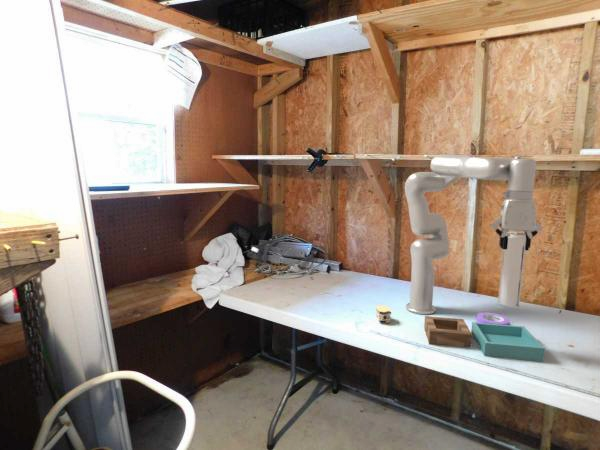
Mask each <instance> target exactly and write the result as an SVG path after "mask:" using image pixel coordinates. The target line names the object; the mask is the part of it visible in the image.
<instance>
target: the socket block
mask: <svg viewBox="0 0 600 450" xmlns="http://www.w3.org/2000/svg"><path fill="white" fill-rule="evenodd" d="M423 325H424V327H423V329H424V332H426V333H425V335H426V339H427V342H428V345H434V346H443V345H444V346H446V347H454V348H455V347H456V348H466V349H467V348H468V349H472V340H473V336H472V333H471V330H470V329H469V327H468V325H467V323H466V322H465V320H464V319H463V318H453V317H439V316H429V315H428V316H427V315H425V316H424V324H423Z"/></svg>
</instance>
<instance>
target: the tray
mask: <svg viewBox="0 0 600 450" xmlns="http://www.w3.org/2000/svg"><path fill="white" fill-rule="evenodd" d="M470 329H471V330H470V332H471V333H472V338H473V339H474V341H475V343H476V345H477V346H478V347H479V350H480V351H481V352H482V355H483V356H484V357H492V358H505V359H516V360H525V361H536V362H544V357H545V349H546V348H545V347H544V346H543V345H542V344H541V342H539V341H538V339H536V337H535V336H534V335H533V334H532V333H531V331H529V330H528V328H526V327H525V326H524V325H511V324H509V325H501V324H489V323H477V321H473V322H471V328H470Z"/></svg>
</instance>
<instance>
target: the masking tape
mask: <svg viewBox="0 0 600 450" xmlns="http://www.w3.org/2000/svg"><path fill="white" fill-rule="evenodd" d="M476 322H477V323H489V324H501V325H511V324H510V323H511V322H510V319H509V318H508V317H506V316H505V315H502V314H499V313H494V312H480V313H477V315H476Z"/></svg>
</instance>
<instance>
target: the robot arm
mask: <svg viewBox="0 0 600 450" xmlns="http://www.w3.org/2000/svg"><path fill="white" fill-rule="evenodd" d="M536 168H537V161H536V160H535V159H534V158H505V157H481V156H479V157H478V156H471V155H470V154H452V153H451V154H449V153H447V154H446V153H441V154H437V155H435V156H434V157H432V159H431V161H430V169H431V171H418V172H414V173H412V174H410V175H409V176H408V178H406V181H405V184H404V194H405V199H406V200H407V206H408V214H409V215H408V216H409V223H410V228H411V232H412V233H413V234H414V235H415V236H429V237H426V238H419V239H416V240H414V241H413V242H412V243H411V245H410V247H409V248H410V249H409V250H410V258H411V259H410V261H411V270H410V271H411V276H410V294H409V295H410V296H409V302H407V303H406V304H405V309H406V310H407V311H409V312H411V313H414V314H419V315H431V314H434V313H436V309H437V308H436V307H435V306H434V305H433V299H434V285H435V284H434V283H435V267H434V265H433V263H432V261H434V260H441V259H444V258H446V257H447V256H448V255H449V253H450V241H449V234H448V228H447V227H448V226H447V222H446V220H445V218H444V216H443V215H442V214H440V213H438V212H431V211H430V206H429V205H430V204H429V201H428V199H427V197H426V196H425V194H424V193H438V192H442V191H444V190H445V189H447V188H448V187H449V186H450V185H451V184H453V182H455V180H457V179H458V178H461V179H462V178H463V179H471V180H472V179H473V180H474V179H475V180H485V181H508V182H507V190H506V191H505V192H502V194H501V195H502V197H505V198H506V199H504V201H503V202H502V207H501V209H500V214H499V215H500V216H499V218H498V219H496V220H495V221H493V223H491V225H490V227H491V229H493V231H495V233H496V234H497V235H498V236H499V241H498V242H499V243H498V245H499V247H500V249H501V250H503V249H505V248H506V238H505V235H506V236H507V233H508V232H509V231H512V232H513V231H515V232H517V231H518V232H519V231H520V232H524V233H523V234H526V237H527V238H526V247H525V251H529V250H530V249H529V248H531V242H532V239H533V238H534V237H535V236H537V234H538V233H540V232H541V231H542V230H543V229H544V228H543V226H542V225H540V223H539V222H538V221H537V208H536V207H537V205H536V201H535V200H533V197H534V186H535V178H536ZM498 226H499V227H500V228H501V229H500V228H498Z"/></svg>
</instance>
